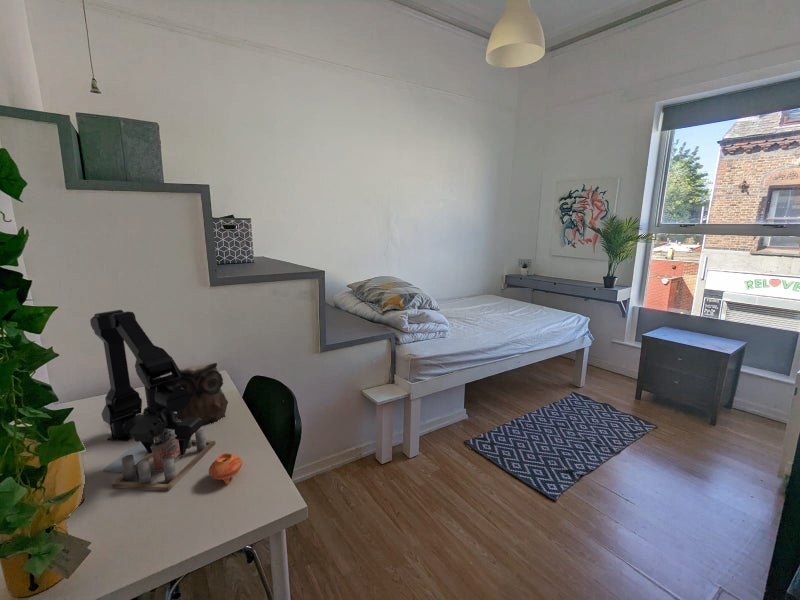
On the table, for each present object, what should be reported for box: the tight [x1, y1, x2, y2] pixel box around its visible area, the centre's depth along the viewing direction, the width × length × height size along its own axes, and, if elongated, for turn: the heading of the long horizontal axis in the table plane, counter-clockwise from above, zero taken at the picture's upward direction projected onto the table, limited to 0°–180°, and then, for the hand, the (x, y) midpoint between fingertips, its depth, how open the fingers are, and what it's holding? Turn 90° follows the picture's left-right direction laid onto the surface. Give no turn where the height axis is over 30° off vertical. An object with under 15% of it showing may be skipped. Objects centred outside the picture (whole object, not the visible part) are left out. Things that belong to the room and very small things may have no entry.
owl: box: [176, 362, 229, 427], centre depth 121 cm, size 13×13×20 cm
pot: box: [208, 452, 243, 486], centre depth 95 cm, size 8×8×7 cm
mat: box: [102, 444, 149, 473], centre depth 102 cm, size 6×11×1 cm, turn 175°
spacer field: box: [110, 429, 216, 492], centre depth 100 cm, size 15×20×6 cm
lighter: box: [151, 429, 182, 474], centre depth 100 cm, size 8×3×10 cm, turn 168°
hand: (167, 453), depth 100 cm, fingers open, 9 cm apart
